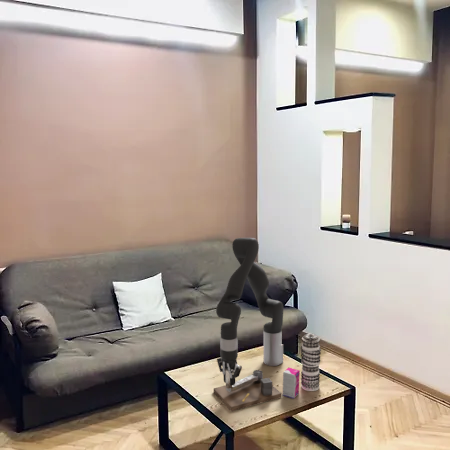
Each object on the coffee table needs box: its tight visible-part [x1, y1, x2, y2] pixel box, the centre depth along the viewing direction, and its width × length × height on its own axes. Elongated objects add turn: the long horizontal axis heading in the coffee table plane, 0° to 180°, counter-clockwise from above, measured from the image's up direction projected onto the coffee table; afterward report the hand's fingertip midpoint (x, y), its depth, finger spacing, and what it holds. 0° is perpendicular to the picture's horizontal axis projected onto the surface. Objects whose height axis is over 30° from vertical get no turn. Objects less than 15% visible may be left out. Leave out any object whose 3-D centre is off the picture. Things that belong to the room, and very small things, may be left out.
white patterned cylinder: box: [300, 333, 322, 392], centre depth 228 cm, size 9×9×25 cm
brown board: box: [213, 377, 283, 412], centre depth 223 cm, size 25×18×8 cm
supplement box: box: [282, 367, 301, 399], centre depth 222 cm, size 6×6×12 cm
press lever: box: [225, 369, 264, 392], centre depth 225 cm, size 22×4×12 cm, turn 132°
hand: (229, 383), depth 219 cm, fingers closed on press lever, 3 cm apart
